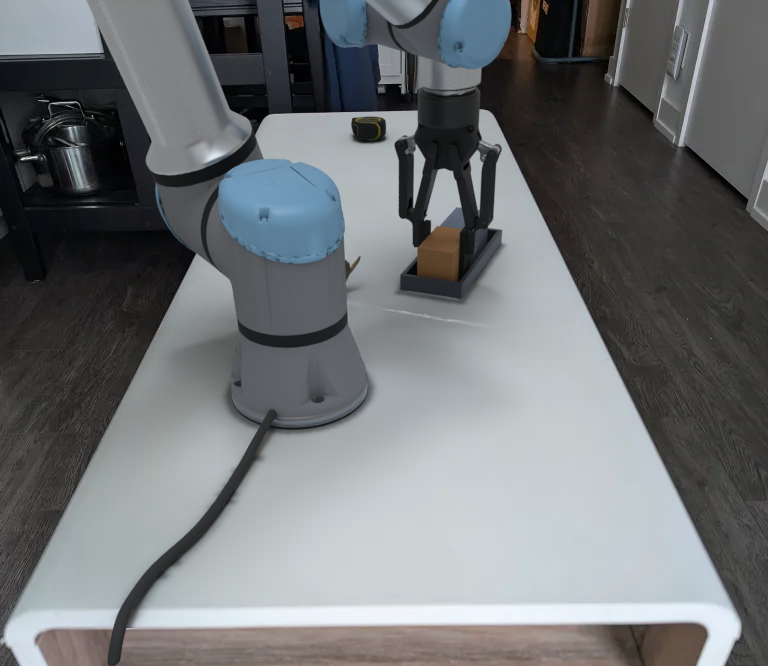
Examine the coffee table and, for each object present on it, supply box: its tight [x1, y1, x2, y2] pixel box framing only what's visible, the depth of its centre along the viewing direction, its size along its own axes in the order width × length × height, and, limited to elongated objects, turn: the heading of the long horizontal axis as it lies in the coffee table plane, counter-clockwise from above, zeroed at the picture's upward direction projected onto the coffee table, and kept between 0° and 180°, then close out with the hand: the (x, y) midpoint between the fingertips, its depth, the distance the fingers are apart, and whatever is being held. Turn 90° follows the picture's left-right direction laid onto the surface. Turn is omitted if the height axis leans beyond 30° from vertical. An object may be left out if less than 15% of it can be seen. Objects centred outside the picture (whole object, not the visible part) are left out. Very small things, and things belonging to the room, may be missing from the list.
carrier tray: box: [399, 227, 503, 300], centre depth 113 cm, size 20×9×2 cm, turn 158°
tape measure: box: [350, 116, 387, 142], centre depth 161 cm, size 7×7×4 cm
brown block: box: [416, 225, 462, 282], centre depth 109 cm, size 8×5×5 cm, turn 158°
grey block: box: [439, 206, 489, 265], centre depth 115 cm, size 8×5×5 cm, turn 158°
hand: (443, 272), depth 110 cm, fingers closed on brown block, 5 cm apart
